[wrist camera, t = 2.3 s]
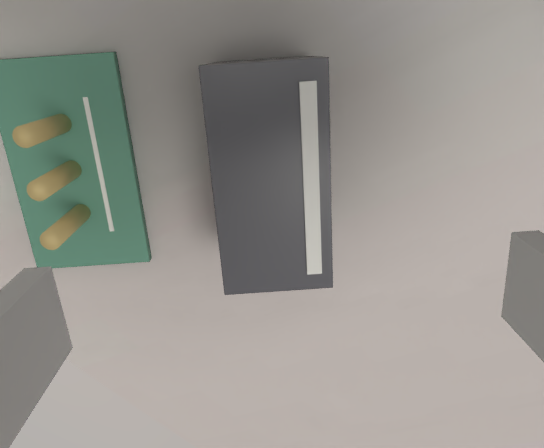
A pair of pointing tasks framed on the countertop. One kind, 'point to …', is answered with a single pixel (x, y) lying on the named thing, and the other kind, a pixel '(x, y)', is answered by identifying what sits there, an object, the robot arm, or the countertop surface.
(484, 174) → the countertop surface
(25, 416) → the robot arm
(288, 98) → the block
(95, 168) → the board
